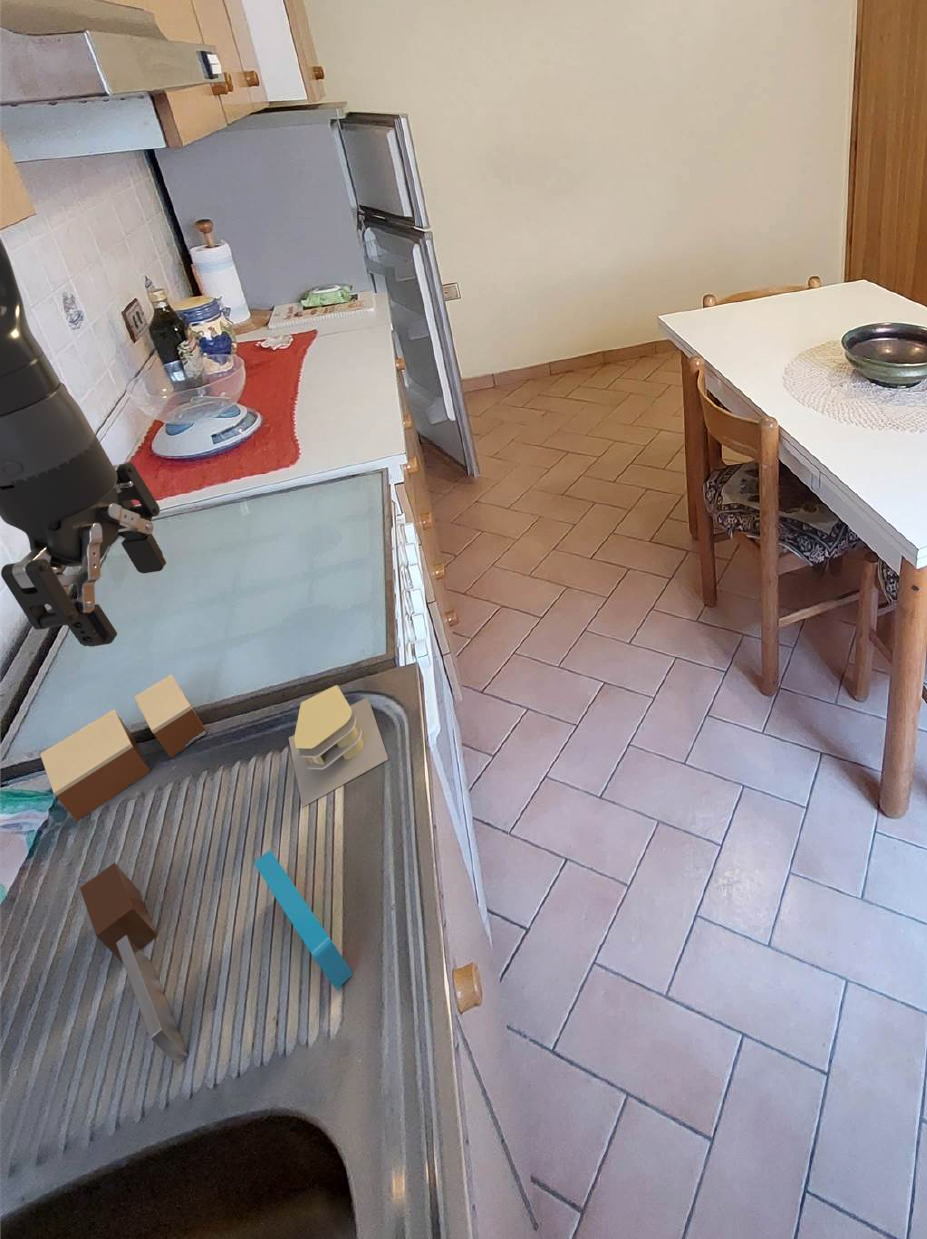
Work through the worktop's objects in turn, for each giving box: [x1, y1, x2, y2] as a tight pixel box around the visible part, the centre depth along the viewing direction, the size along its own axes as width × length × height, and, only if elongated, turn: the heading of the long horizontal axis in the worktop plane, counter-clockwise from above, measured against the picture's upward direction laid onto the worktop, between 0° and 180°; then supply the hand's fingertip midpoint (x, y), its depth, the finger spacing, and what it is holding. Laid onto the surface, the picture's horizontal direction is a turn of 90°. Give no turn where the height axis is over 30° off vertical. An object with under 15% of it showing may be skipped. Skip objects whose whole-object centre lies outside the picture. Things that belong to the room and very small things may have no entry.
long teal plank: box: [253, 849, 354, 991], centre depth 64 cm, size 12×2×6 cm, turn 50°
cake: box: [39, 709, 152, 821], centre depth 80 cm, size 7×7×5 cm
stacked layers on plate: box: [288, 684, 389, 808], centre depth 80 cm, size 10×9×6 cm
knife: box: [79, 862, 189, 1066], centre depth 62 cm, size 3×18×5 cm, turn 48°
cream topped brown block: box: [133, 674, 207, 759], centre depth 84 cm, size 4×7×5 cm, turn 48°
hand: (129, 603), depth 63 cm, fingers open, 8 cm apart
